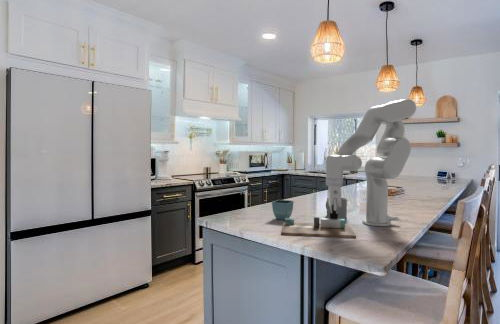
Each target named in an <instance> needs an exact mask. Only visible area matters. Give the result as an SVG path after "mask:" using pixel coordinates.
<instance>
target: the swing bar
mask: <svg viewBox="0 0 500 324" xmlns="http://www.w3.org/2000/svg"><path fill="white" fill-rule="evenodd" d="M320 224H321V227H326V228H345V225H346V219H331V218H327V217H325V218H324V217H320Z"/></svg>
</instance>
